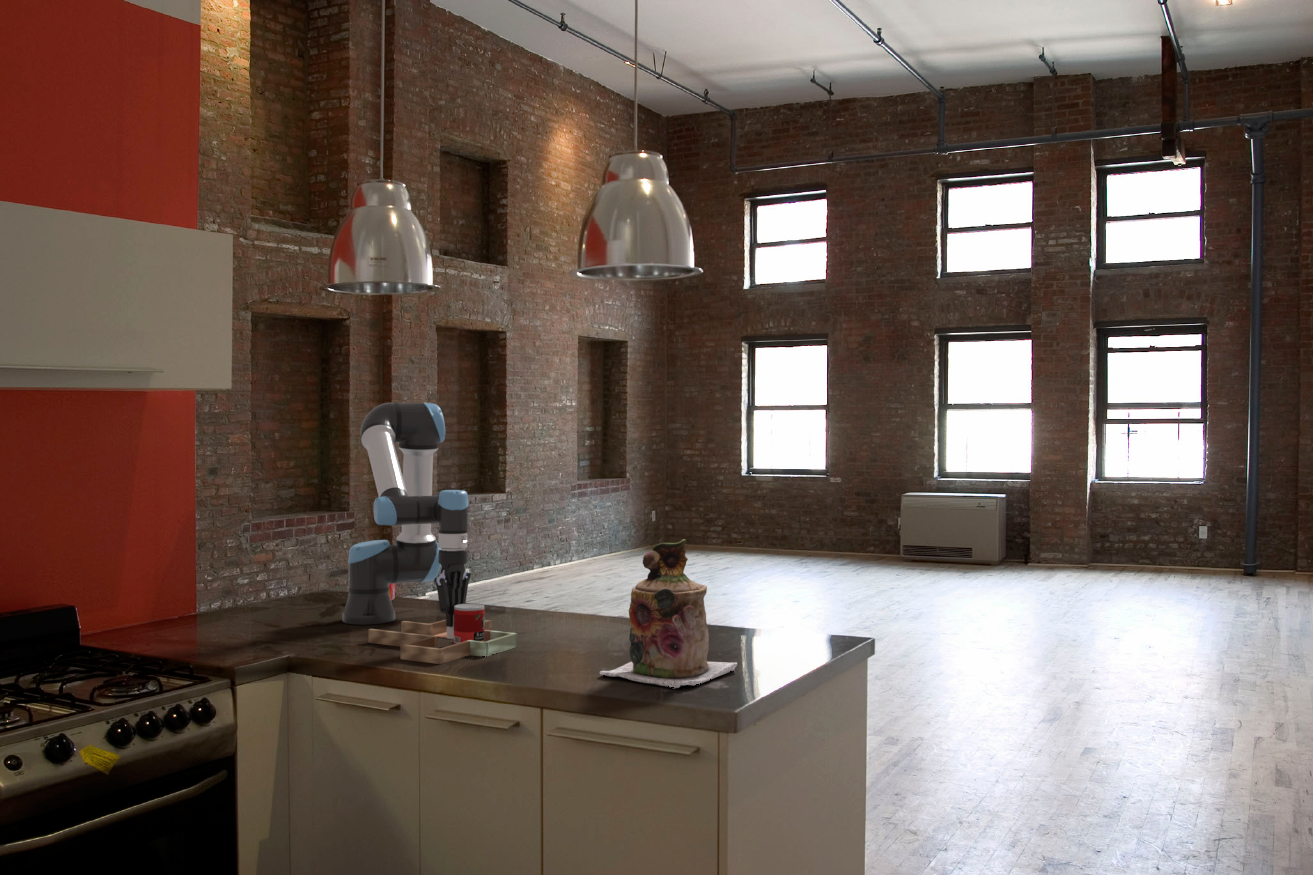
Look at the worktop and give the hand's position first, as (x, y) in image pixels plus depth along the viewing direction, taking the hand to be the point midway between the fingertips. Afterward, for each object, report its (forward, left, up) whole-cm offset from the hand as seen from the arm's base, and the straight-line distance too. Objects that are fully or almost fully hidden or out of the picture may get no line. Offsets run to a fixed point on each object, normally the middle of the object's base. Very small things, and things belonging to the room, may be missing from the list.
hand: (452, 638), depth 291 cm
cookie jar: (+65, -3, -2) cm, 65 cm away
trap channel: (-4, 0, -2) cm, 5 cm away
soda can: (-64, +48, -2) cm, 80 cm away
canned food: (+5, 0, -2) cm, 6 cm away
